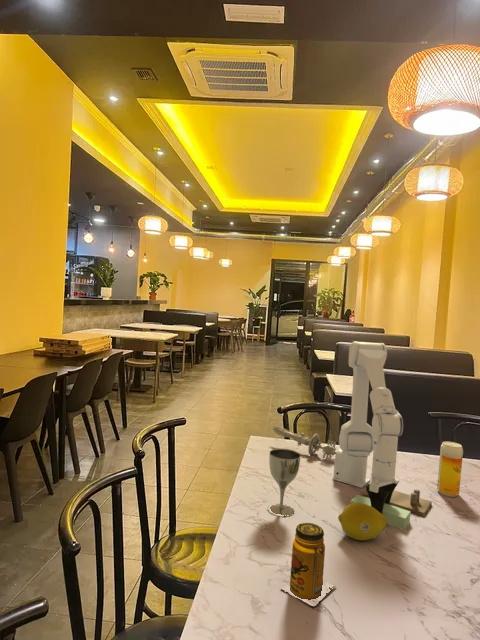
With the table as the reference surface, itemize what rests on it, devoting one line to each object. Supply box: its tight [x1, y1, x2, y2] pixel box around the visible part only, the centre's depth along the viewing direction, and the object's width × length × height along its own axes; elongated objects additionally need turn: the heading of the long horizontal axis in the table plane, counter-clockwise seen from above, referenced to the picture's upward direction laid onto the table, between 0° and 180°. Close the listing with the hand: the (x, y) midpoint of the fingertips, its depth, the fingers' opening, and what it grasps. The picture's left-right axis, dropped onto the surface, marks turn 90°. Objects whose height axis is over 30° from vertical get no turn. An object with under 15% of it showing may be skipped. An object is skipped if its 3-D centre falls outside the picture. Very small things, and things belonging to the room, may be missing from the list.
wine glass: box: [268, 448, 301, 517], centre depth 115 cm, size 8×8×15 cm
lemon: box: [337, 503, 387, 541], centre depth 104 cm, size 11×8×8 cm
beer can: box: [436, 440, 464, 498], centre depth 133 cm, size 6×6×15 cm
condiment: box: [284, 522, 337, 600], centre depth 84 cm, size 7×8×12 cm
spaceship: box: [272, 426, 338, 462], centre depth 160 cm, size 8×35×8 cm
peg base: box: [361, 488, 433, 517], centre depth 126 cm, size 17×9×4 cm, turn 55°
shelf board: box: [350, 494, 411, 531], centre depth 116 cm, size 14×5×3 cm, turn 55°
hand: (380, 510), depth 116 cm, fingers closed on shelf board, 5 cm apart
